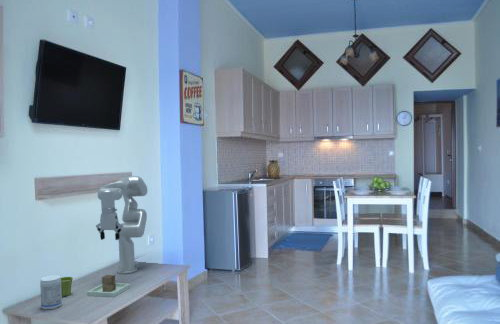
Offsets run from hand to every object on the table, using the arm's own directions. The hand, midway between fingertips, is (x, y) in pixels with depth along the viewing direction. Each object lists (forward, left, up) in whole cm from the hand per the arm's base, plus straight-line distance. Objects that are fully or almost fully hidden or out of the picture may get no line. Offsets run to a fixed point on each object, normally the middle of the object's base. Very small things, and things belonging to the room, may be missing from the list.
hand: (110, 239), depth 243 cm
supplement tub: (+38, -10, -27) cm, 48 cm away
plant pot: (+21, -16, -27) cm, 38 cm away
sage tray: (+12, +6, -27) cm, 30 cm away
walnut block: (+12, +6, -26) cm, 29 cm away
